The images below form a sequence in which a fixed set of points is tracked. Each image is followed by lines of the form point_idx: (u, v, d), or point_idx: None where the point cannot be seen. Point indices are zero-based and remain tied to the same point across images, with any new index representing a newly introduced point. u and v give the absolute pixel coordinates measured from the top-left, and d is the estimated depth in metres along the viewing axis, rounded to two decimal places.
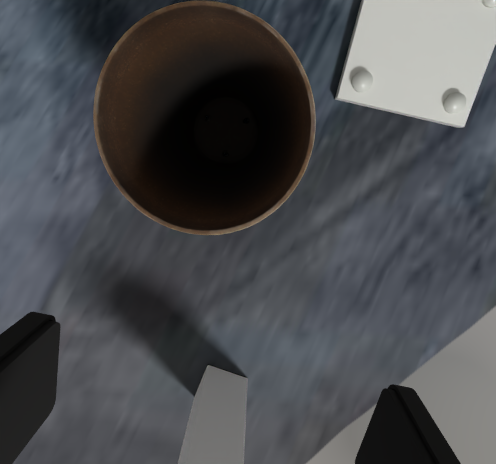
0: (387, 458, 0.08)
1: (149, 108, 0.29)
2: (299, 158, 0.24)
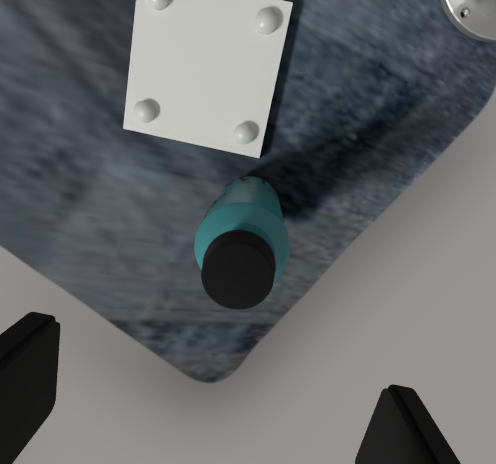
0: (387, 458, 0.08)
1: None
2: None
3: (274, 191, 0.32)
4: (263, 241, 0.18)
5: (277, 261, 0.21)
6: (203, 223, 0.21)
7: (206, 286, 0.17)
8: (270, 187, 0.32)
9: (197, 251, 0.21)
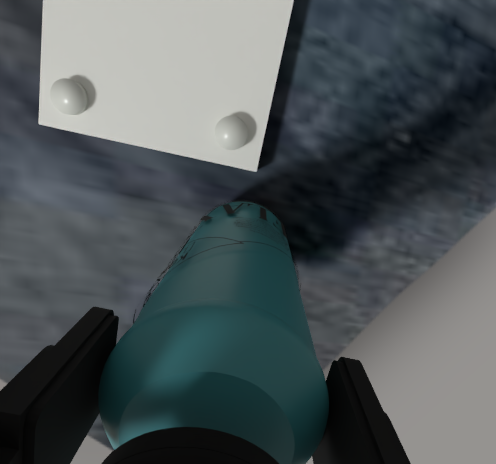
0: (331, 422, 0.09)
1: None
2: None
3: (281, 227, 0.20)
4: None
5: (300, 455, 0.08)
6: (114, 355, 0.08)
7: None
8: (274, 221, 0.19)
9: (102, 419, 0.09)
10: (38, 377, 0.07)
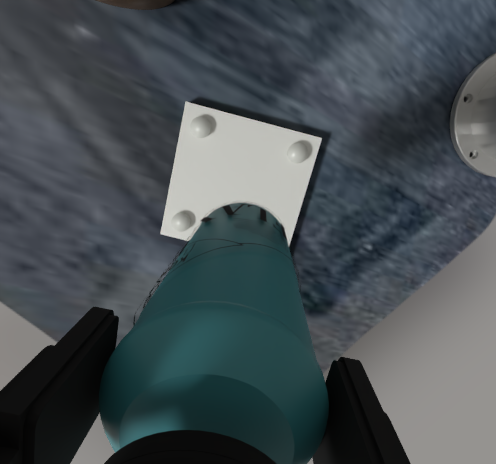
0: (331, 422, 0.09)
1: None
2: None
3: (281, 228, 0.20)
4: None
5: (300, 458, 0.08)
6: (114, 357, 0.08)
7: None
8: (274, 223, 0.19)
9: (103, 421, 0.09)
10: (38, 377, 0.07)
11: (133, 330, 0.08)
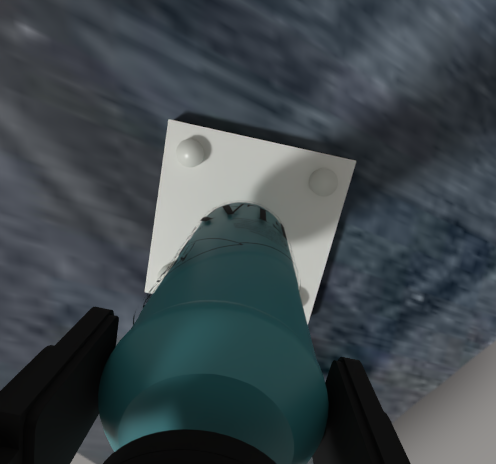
0: (331, 422, 0.09)
1: None
2: None
3: (280, 228, 0.20)
4: None
5: (299, 457, 0.08)
6: (113, 357, 0.08)
7: None
8: (274, 222, 0.19)
9: (102, 420, 0.09)
10: (38, 377, 0.07)
11: (132, 329, 0.08)
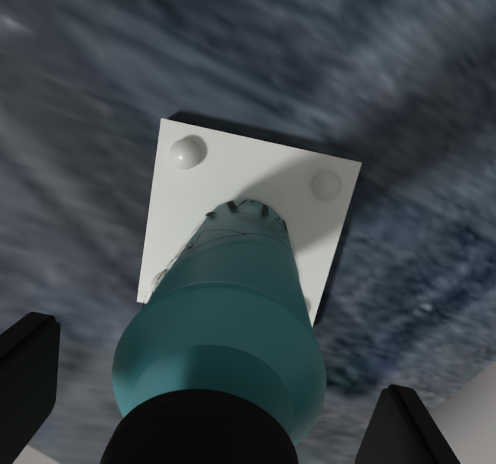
0: (387, 458, 0.08)
1: None
2: None
3: (282, 223, 0.20)
4: (267, 431, 0.06)
5: (299, 426, 0.09)
6: (127, 332, 0.09)
7: None
8: (276, 218, 0.20)
9: (116, 392, 0.09)
10: None
11: (145, 307, 0.09)
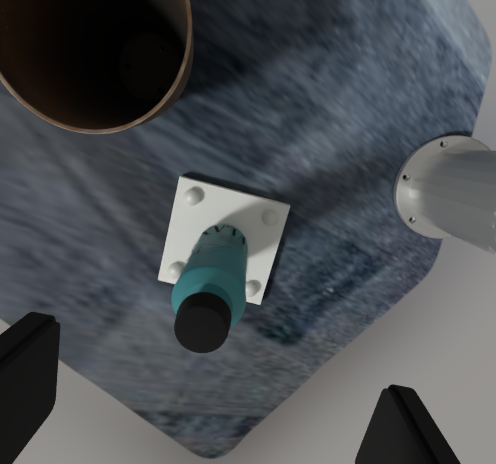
0: (387, 458, 0.08)
1: None
2: (73, 122, 0.26)
3: (243, 239, 0.38)
4: (222, 302, 0.24)
5: (235, 312, 0.27)
6: (179, 280, 0.27)
7: (177, 335, 0.23)
8: (240, 236, 0.38)
9: (173, 301, 0.27)
10: None
11: (185, 272, 0.27)
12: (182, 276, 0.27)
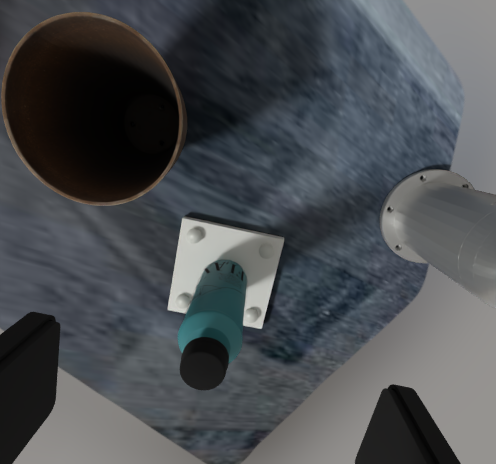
0: (387, 458, 0.08)
1: (138, 58, 0.32)
2: (87, 194, 0.30)
3: (242, 273, 0.42)
4: (220, 345, 0.28)
5: (232, 350, 0.31)
6: (183, 324, 0.31)
7: (183, 376, 0.27)
8: (238, 271, 0.42)
9: (179, 342, 0.31)
10: None
11: (188, 317, 0.31)
12: (186, 320, 0.31)
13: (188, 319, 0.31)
